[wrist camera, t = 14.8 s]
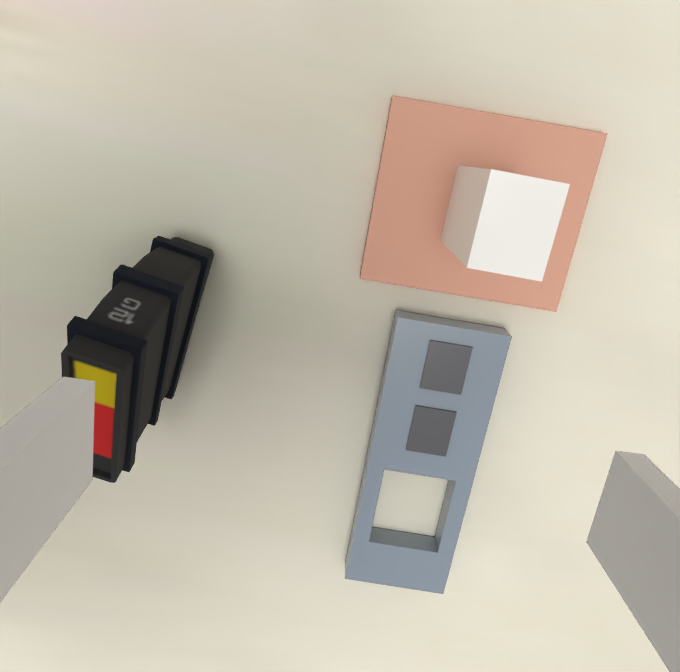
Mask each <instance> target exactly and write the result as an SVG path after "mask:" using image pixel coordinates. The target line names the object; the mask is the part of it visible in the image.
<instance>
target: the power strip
mask: <svg viewBox="0 0 680 672" xmlns="http://www.w3.org/2000/svg"><path fill="white" fill-rule="evenodd" d="M511 337H512V336H511V335H510V334H509V333H508V332H507V330H506V329H505V328H500V327H494V326H488V325H482V324H476V323H470V322H464V321H458V320H452V319H446V318H440V317H434V316H428V315H422V314H416V313H410V312H404V311H398V310H396V313H395V318H394V323H393V328H392V333H391V338H390V343H389V348H388V353H387V358H386V363H385V368H384V373H383V378H382V383H381V388H380V393H379V398H378V403H377V408H376V413H375V418H374V423H373V427H372V432H371V437H370V442H369V447H368V452H367V457H366V462H365V467H364V472H363V477H362V482H361V487H360V492H359V497H358V502H357V507H356V512H355V517H354V522H353V527H352V532H351V537H350V542H349V547H348V552H347V557H346V562H345V579H351V580H357V581H363V582H370V583H376V584H383V585H389V586H395V587H402V588H408V589H415V590H421V591H427V592H434V593H440V594H443V593H444V589H445V585H446V581H447V578H448V574H449V570H450V566H451V562H452V559H453V555H454V551H455V547H456V544H457V540H458V536H459V532H460V529H461V525H462V521H463V517H464V514H465V510H466V506H467V502H468V499H469V495H470V491H471V487H472V484H473V480H474V476H475V472H476V469H477V465H478V461H479V457H480V454H481V450H482V446H483V442H484V439H485V435H486V431H487V427H488V424H489V420H490V416H491V412H492V409H493V405H494V401H495V397H496V394H497V390H498V386H499V382H500V379H501V375H502V371H503V367H504V364H505V360H506V356H507V352H508V349H509V345H510V341H511ZM384 469H385V470H392V471H398V472H404V473H410V474H416V475H423V476H429V477H435V478H441V479H447V480H449V481H448V485H447V489H446V493H445V497H444V501H443V505H442V509H441V513H440V517H439V521H438V525H437V529H436V533H435V537H432V536H426V535H420V534H413V533H407V532H401V531H394V530H388V529H382V528H375V527H372V524H373V519H374V515H375V510H376V505H377V501H378V496H379V491H380V486H381V482H382V477H383V472H384Z"/></svg>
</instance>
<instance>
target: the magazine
mask: <svg viewBox="0 0 680 672" xmlns="http://www.w3.org/2000/svg"><path fill="white" fill-rule="evenodd" d="M213 256H214V254H213V251H212V250H211V249H208V248H205V247H202V246H200V245H197V244H194V243H191V242H188V241H186V240H183V239H180V238H172V239H171V240H169V239H167V238H164V237H161V236H157V237H156V238H154V239H153V242H152V246H151V251H150V253H149V254H147V255H146V256H144V257H143V258H142V259H141V260H140V261H139V262H138V263H137V264H136V265H135V266H134V267H133V268H131V267H128V266H125V265H120V266H119V267H118V268H117V269H116V270H115V271H114V273H113V284H112V290H111V291H110V292H109V293H108V294H107V295H106V296H105V297H104V298H103V299H102V300H101V302H100V303H99V304H98V306H97V307H96V308H95V310H94V311H93V312H92V314H91V315H90V316H89V317H88V319H87V320H86V319H83V318H80V317H77V316H74V318H73V319H72V320H71V321H70V323H69V324H68V325H67V340H68V345H67V346H66V347H65V349H64V350H63V351H62V353H61V361H62V377H69V378H77V379H84V380H92V381H95V403H94V441H93V477H95V478H99V479H102V480H105V481H108V482H113V483H114V482H116V480H117V478H118V477H119V475H120V473H121V471H122V470H124V471H127V472H130V470H131V468H132V466H133V464H134V462H135V452H136V443H137V441H138V439H139V437H140V436H141V434H142V432H143V430H144V429H145V427H146V425H147V424H151V425H155V424H156V422H157V421H158V416H159V411H160V406H161V401H162V400H163V398H164V397H166V398H169V399H172V398H173V396H174V394H175V391H176V387H177V383H178V380H179V376H180V372H181V369H182V365H183V362H184V358H185V354H186V351H187V347H188V343H189V340H190V336H191V333H192V329H193V325H194V322H195V318H196V314H197V311H198V307H199V304H200V300H201V297H202V293H203V290H204V287H205V283H206V280H207V277H208V273H209V270H210V266H211V263H212V260H213Z"/></svg>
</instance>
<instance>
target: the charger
mask: <svg viewBox="0 0 680 672" xmlns="http://www.w3.org/2000/svg"><path fill="white" fill-rule="evenodd" d="M569 186H570V184H567V183H562V182H556V181H551V180H546V179H541V178H535V177H530V176H525V175H520V174H514V173H509V172H504V171H498V170H493V169H486V168H477V167H468V166H459V165H458V166H457V171H456V175H455V179H454V184H453V188H452V192H451V197H450V201H449V205H448V210H447V214H446V218H445V223H444V227H443V231H442V236H441V240H440V241H441V242H442V243H443V244H444V245H445V246H446V247H447V248H448V249H449V250H450V251H451V252H452V253H453V254H454V255H455V256H456V257H457V258H458V259H459V260H460V261H461V262H462V263H463V264H464V265H465V266H466V268H471V269H476V270H481V271H487V272H492V273H498V274H503V275H509V276H514V277H519V278H525V279H530V280H536V281H541V282H542V280H543V276H544V273H545V269H546V266H547V262H548V259H549V255H550V252H551V249H552V245H553V242H554V238H555V235H556V231H557V228H558V224H559V221H560V217H561V214H562V211H563V207H564V204H565V200H566V197H567V193H568V190H569Z"/></svg>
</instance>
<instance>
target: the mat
mask: <svg viewBox="0 0 680 672" xmlns="http://www.w3.org/2000/svg"><path fill="white" fill-rule="evenodd" d="M606 137H607V133H601V132H596V131H590V130H584V129H579V128H573V127H567V126H562V125H556V124H550V123H545V122H539V121H533V120H528V119H522V118H516V117H511V116H505V115H499V114H494V113H488V112H482V111H477V110H471V109H465V108H460V107H454V106H448V105H443V104H437V103H431V102H425V101H420V100H414V99H408V98H403V97H397V96H392V100H391V106H390V111H389V117H388V122H387V128H386V133H385V139H384V145H383V150H382V156H381V161H380V167H379V173H378V178H377V184H376V189H375V195H374V201H373V206H372V212H371V217H370V223H369V229H368V234H367V240H366V245H365V251H364V257H363V262H362V268H361V273H360V279H365V280H371V281H377V282H383V283H389V284H395V285H401V286H407V287H413V288H419V289H425V290H431V291H437V292H442V293H448V294H454V295H460V296H466V297H472V298H478V299H484V300H490V301H496V302H502V303H508V304H514V305H519V306H525V307H531V308H537V309H543V310H549V311H555V312H556V311H557V308H558V304H559V301H560V297H561V294H562V290H563V287H564V283H565V280H566V276H567V273H568V269H569V266H570V262H571V259H572V255H573V252H574V248H575V245H576V241H577V238H578V234H579V231H580V227H581V224H582V220H583V217H584V213H585V210H586V206H587V203H588V199H589V196H590V192H591V189H592V185H593V182H594V178H595V175H596V171H597V168H598V164H599V161H600V158H601V154H602V151H603V147H604V144H605V140H606ZM458 165H459V166H468V167H477V168H486V169H493V170H498V171H504V172H509V173H514V174H520V175H525V176H530V177H535V178H541V179H546V180H551V181H556V182H562V183H567V184H570V186H569V190H568V193H567V197H566V200H565V204H564V207H563V211H562V214H561V217H560V221H559V224H558V228H557V231H556V235H555V238H554V242H553V245H552V249H551V252H550V255H549V259H548V262H547V266H546V269H545V273H544V276H543V280H542V282H541V281H536V280H530V279H525V278H519V277H514V276H509V275H503V274H498V273H492V272H487V271H481V270H476V269H471V268H466V266H465V265H464V264H463V263H462V262H461V261H460V260H459V259H458V258H457V257H456V256H455V255H454V254H453V253H452V252H451V251H450V250H449V249H448V248H447V247H446V246H445V245H444V244H443V243H442V242H441V241H440V240H441V236H442V231H443V227H444V223H445V218H446V214H447V210H448V205H449V201H450V197H451V192H452V188H453V184H454V179H455V175H456V171H457V166H458Z"/></svg>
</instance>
